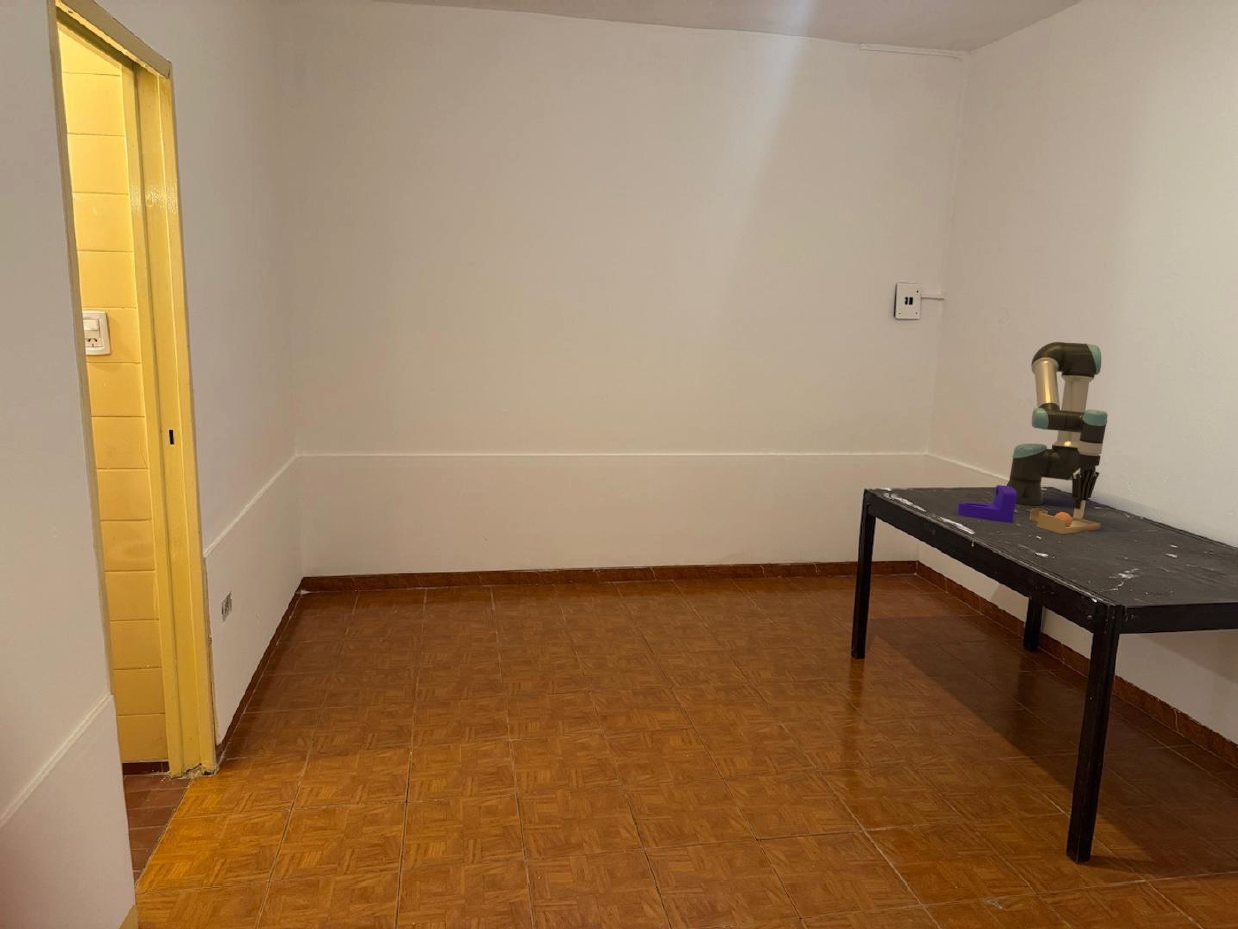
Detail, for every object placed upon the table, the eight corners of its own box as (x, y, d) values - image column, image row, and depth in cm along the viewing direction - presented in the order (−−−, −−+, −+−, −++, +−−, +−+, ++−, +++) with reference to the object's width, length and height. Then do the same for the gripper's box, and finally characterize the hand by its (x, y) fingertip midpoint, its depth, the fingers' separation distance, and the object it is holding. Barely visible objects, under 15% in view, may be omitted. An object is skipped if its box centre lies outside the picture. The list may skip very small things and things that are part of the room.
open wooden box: (1036, 518, 322) (1037, 508, 321) (1046, 521, 319) (1047, 510, 318) (1029, 519, 320) (1031, 509, 319) (1039, 522, 317) (1040, 511, 316)
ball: (1049, 513, 308) (1049, 528, 310) (1065, 518, 303) (1065, 533, 305) (1060, 507, 310) (1060, 522, 312) (1075, 512, 305) (1075, 527, 307)
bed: (1073, 522, 320) (1075, 508, 319) (1099, 529, 312) (1101, 515, 311) (1036, 526, 310) (1039, 513, 309) (1062, 534, 301) (1065, 520, 300)
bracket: (1004, 515, 324) (1009, 485, 322) (1012, 523, 314) (1017, 491, 311) (954, 510, 327) (958, 480, 325) (960, 517, 317) (964, 486, 314)
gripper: (1090, 450, 314) (1079, 513, 319) (1067, 452, 308) (1057, 516, 313) (1110, 454, 308) (1098, 518, 313) (1087, 456, 302) (1076, 521, 307)
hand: (1077, 517), depth 313 cm, fingers closed
